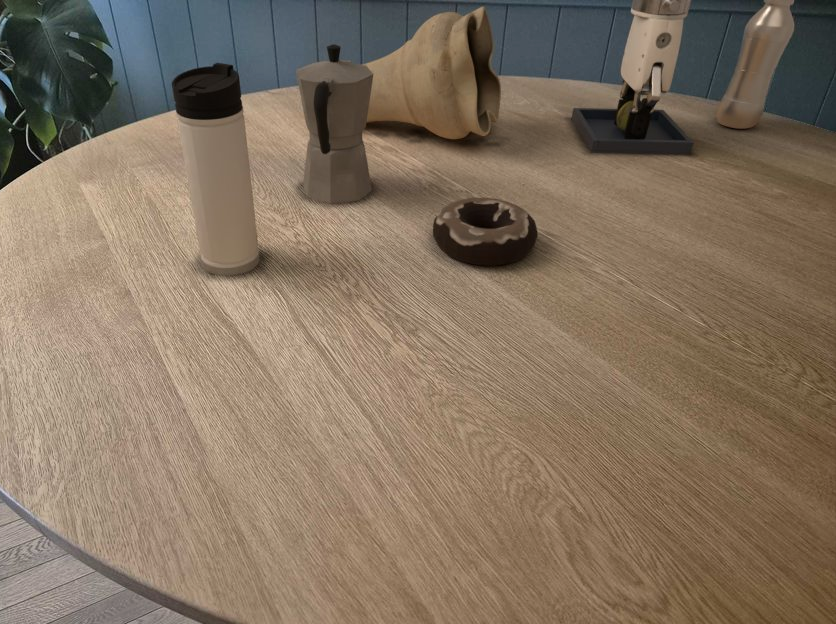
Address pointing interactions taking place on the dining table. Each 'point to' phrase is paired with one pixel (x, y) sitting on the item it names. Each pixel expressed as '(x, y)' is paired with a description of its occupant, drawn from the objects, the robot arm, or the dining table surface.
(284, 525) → the dining table surface
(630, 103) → the lime
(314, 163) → the coffeepot
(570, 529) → the dining table surface
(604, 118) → the square tray
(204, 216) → the travel mug
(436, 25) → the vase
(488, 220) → the donut
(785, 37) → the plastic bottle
